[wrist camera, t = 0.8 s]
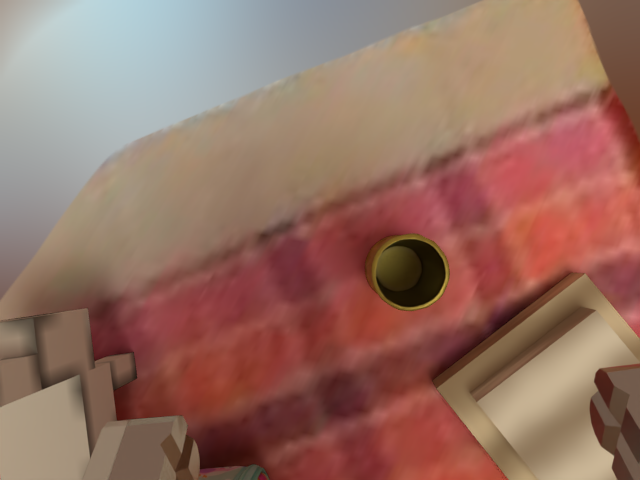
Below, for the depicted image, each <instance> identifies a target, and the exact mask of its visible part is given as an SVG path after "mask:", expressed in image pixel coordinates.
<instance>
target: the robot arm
mask: <svg viewBox="0 0 640 480" xmlns="http://www.w3.org/2000/svg"><path fill="white" fill-rule="evenodd" d="M594 383H595V385H596V387H597V389H598V391H597V392H596V393H595V394H594V395H593V396H592V397H591V400H590V408H589V410H590V418H591V424H592V427H593V430H594V433H595V435H596V437H597V440H598V442H599V444H600V446H601V447H602V448H604V449H605V450H606V451H608V452H609V453H611V454H612V455H613V456H614V459H613V463H612V470H613V472H614V474H615V476H616V478H617V480H640V363H639V364H631V365H623V366H615V367H607V368H599V369H598V371H597V372H596V374H595V378H594ZM187 427H188V425H187V423H186V421H185V419H184V417H183V416H182V415H180V416H167V417H154V418H142V419H131V420H121V421H111V422H107V423H106V425H105V426H104V427H103V428H102V430H101V432H100V435H99V437H98V440H97V443H96V445H95V448H94V450H93V453H92V456H91V458H90V461H89V463H88V466H87V469H86V471H85V474H84V476H83V479H82V480H198V479H199V473H200V457H199V452H198V447H197V445H196V443H195V440H194V439H193V438H191V437H189V436H188V435H186V431H187Z"/></svg>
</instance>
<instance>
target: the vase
mask: <svg viewBox="0 0 640 480" xmlns="http://www.w3.org/2000/svg"><path fill="white" fill-rule="evenodd" d="M365 274H366V278H367V281H368V283H369V285H370V287H371V288H372V289H373V290H374V291H375V292H376V293H377V294H378V295H379V296H380V298H381V299H382V300H383V301H384V302H386V303H387V304H389V305H391V306H392V307H394V308H396V309H399V310H404V311H414V310H418V309H423V308H427V307H429V306H430V305H432V304H433V303H434V302H436V301H437V300H438V299H439V298H440V297H441V296H442V295H443V293H444V291H445V289H446V287H447V284H448V281H449V275H450V272H449V264H448V261H447V258H446V256H445V254H444V253H443V252H442V250H441V249H440V248H439V246H438V245H437V244H436V243H435V242H434V241H432V240H429V239H427V238H425V237H423V236H421V235H419V234H414V233H413V234H406V235H394V236H388V237H386V238H384V239H382V240H380V241H379V242H377V243H376V244H375V245H374V246H373V247H372V248H371V250H370V251H369V253H368V255H367V258H366V262H365Z"/></svg>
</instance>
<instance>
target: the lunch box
mask: <svg viewBox="0 0 640 480" xmlns="http://www.w3.org/2000/svg"><path fill="white" fill-rule="evenodd" d="M198 480H270V479H269V477H268V475H267V473H266V471H265V470H264V468H262V467H260V466H258V465H256V464H252V465H250V466H248V467H245V466H232V467H219V468H207V469H200V473H199V479H198Z"/></svg>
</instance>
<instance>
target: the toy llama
mask: <svg viewBox="0 0 640 480" xmlns="http://www.w3.org/2000/svg"><path fill="white" fill-rule="evenodd" d="M135 379H137V374H136V366H135V358H134V352H132V353H125V354H117V355H110V356H107V357H104V358H102V359H99V360H96V361H94V353H93V345H92V337H91V329H90V322H89V314H88V308H85V309H78V310H71V311H64V312H57V313H50V314H43V315H36V316H29V317H22V318H15V319H8V320H1V321H0V478H1V480H82V479H83V476H84V474H85V471H86V469H87V466H88V463H89V461H90V458H91V456H92V453H93V450H94V448H95V445H96V443H97V440H98V437H99V435H100V432H101V430H102V428H103V427H104V426H105V425H106V423H107V422H111V421H117V417H116V409H115V401H114V394H113V391H114V390H116V389H118V388H120V387H121V386H123V385H125V384H127V383H129V382H131V381H133V380H135Z"/></svg>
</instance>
